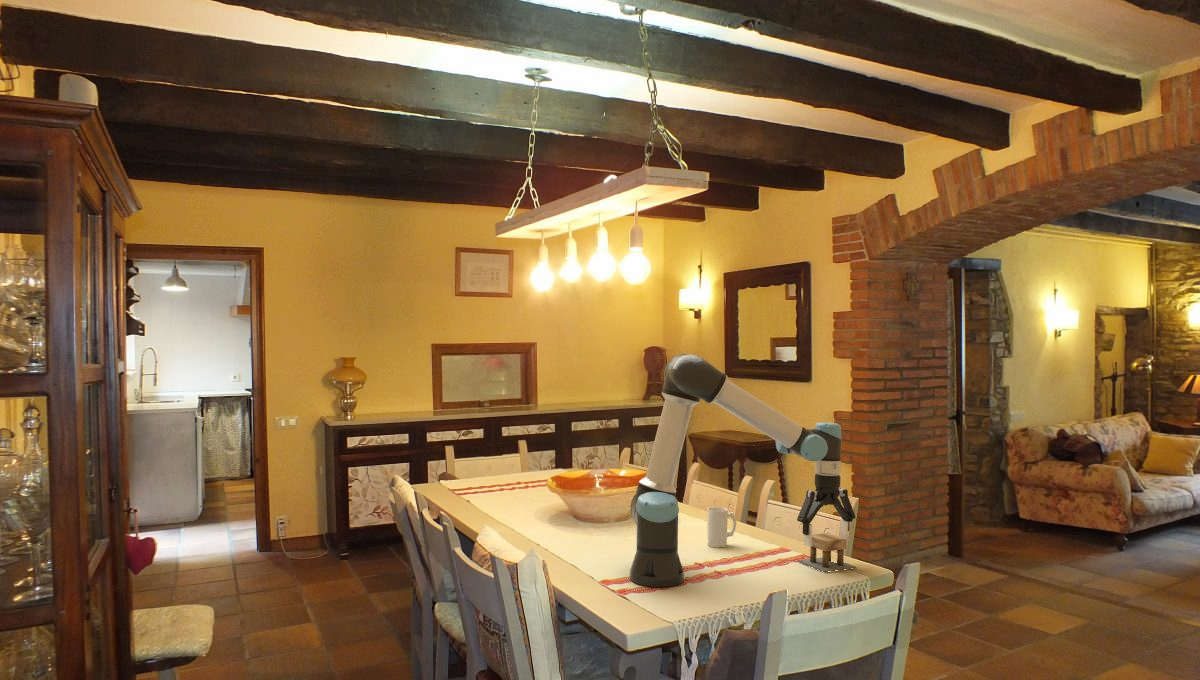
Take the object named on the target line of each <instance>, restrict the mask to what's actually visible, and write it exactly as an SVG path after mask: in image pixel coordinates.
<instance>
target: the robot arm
mask: <svg viewBox="0 0 1200 680" xmlns="http://www.w3.org/2000/svg"><path fill="white" fill-rule="evenodd" d="M728 377H729V376H728V375H727V374H725V373H724V372H722V371H720V370H719V369H718V368H717V367H715V366H714V365H712V363H710V362H709V361H708V360H706V359H705V358H703V357H702V356H700V355H698V354H689V353H683V354H682V353H681V354H678V355H676V356H674V357H673V358H672V359H670V360H669V362H668V363H667V365H666V367H665V370H664V382H663V387H662V391H661V395H662V397H663V398H664V404H663V407H662V411H661V414H660V419H659V422H658V426H657V429H656V434H655V438H654V441H653V442H654V443H653V446H652V450H651V453H650V458H649V461H648V466H647V470H646V473H645V476H644V477H642V478H641V479H640V480H639V481H638V483H637V487H636V492H635V494H634V495H633V496H632V499H631V502H630V513H631V517H632V519H633V521H634V523H635V525H636V549H635V551H636V552H635V554H634V558H633V559H632V560H633V561H632V564H631V566H630V570H629V579H630V581H631V582H632V583H635V584H637V585H640V586H645V587H651V588H652V587H654V588H667V587H674V586H677V585H680V584H682V583H684V580H685V577H684V576H685V572H684V569H683V566H682V563H681V559H680V556H679V548H678V545H679V542H678V541H679V513H680V508H679V500H678V499H677V498H676V494H677V490H676V487H675V486H674V483H675V482H674V481H675V478H676V474H677V469H678V467H679V462H680V458H681V456H682V455H681V454H682V451H683V447H684V442H685V438H686V435H687V431H688V427H689V424H690V423H689V422H690V419H691V417H692V416H691V415H692V412H693V408H694V407H695V406H698V405H699V404H700V401H701V400H702V401H704V402H706V403H707V404H709V405H711V404H715V405H718V406H719V408H722V409H723V410H725V411H727V412H729V413H730V414H732V415H733V416H735V417H737V418H738V419H740V420H741V421H742V422H745V423H747V424H748V425H749V426H751V427H752V428H755V429H757V431H759V432H761V433H763V434H764V435H766V436H767V437H769V438H770V439H773V440H774V441H775V447H776V450H777V452H778V453H780V454H785V455H789V454H790V455H796V456H798V457H801V458H803V459H804V460H806V461H808V462H814V472H815V474H814V486H815V490H814V491H813V490H810V489H807V490H806V494H805V498H804V502H803V503H802V506H801V508H800V510H799V512H798V515H797V517H796V520H797V522H800V523H801V524H802V535H803V545H804V546H807V547H809V548H810V547H812V535H813V524H811V523H812V522H813V520H814V518H816V515H817V514H818V512H819V511H820V510H821V508H822V507H824V506H828V505H829V506H833V508H835V510H836V511H837V513H838V515H839V516H840V517H841V519H840V520H839V521H840V523H839V537H842V538H845V539H847V540H846V544H848V543H849V542H848V540H849V532H850V525H851V524H850V523H852V522H853V520H854V519H856V514H855V512H854V508H853V507H852V503H851V501H850V498H849V493H848V489H846V488H842V487H841V475H840V474H841V473H842V472H841V471H842V469H841V466H842V459H841V458H842V456H841V455H842V440H843V438H842V437H843V435H842V427H841V425H840V424H839V423H836V422H825V421H823V422H817V423H815V427H814V428H811V429H810V428H809V429H807V428H806V427H804V426H802V425H801V424H799V423H798V422H796V421H795V420H793V419H791V418H790V417H788V416H787V415H785V414H783V413H781V412H780V411H778V410H777V409H775V408H773V407H772V406H770V405H769V404H767V403H765V402H764V401H762V400H761V399H759V398H758V397H755V396H754V395H752V394H751V393H749V392H748V391H746V390H744V389H743V388H741V387H740V386H738V385H737V384H735V383H733V382H732V381H730V380H729V378H728Z"/></svg>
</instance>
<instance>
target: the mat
mask: <svg viewBox="0 0 1200 680" xmlns="http://www.w3.org/2000/svg"><path fill="white" fill-rule="evenodd" d="M797 561H798V562H797V563H799V562H800V563H799V564H801V563H803V564H802V565H804V564H805V565H804V566H806V565H807V566H806V567H809V566H810V567H809V568H811V567H813V568H815V569H814V570H816V569H818V570H820V571H819V572H821V571H823V572H828V571H835V570H843V571H845V570H844V569H851V568H856V569H857V566H856V565H852V564H850V563H847V562H845V563H844V565H843V566H839V565H837V563H834V562H831V561H829V567H828V568H824V567H822V557H816V563H812V562H810V558H807V559H798V560H797ZM813 568H812V569H813ZM818 570H817V571H818ZM851 570H852V569H851ZM823 572H822V573H823ZM835 572H836V571H835ZM828 573H829V572H828Z"/></svg>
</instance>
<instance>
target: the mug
mask: <svg viewBox="0 0 1200 680" xmlns="http://www.w3.org/2000/svg"><path fill="white" fill-rule="evenodd" d="M706 509H707V511H706V512H707V515H706V516H707V517H706V519H707V520H706V521H707V545H708V546H709V547H711V548H717V549H720V548H721V547H722V548H726V547H727V546H728V545H727V544H728V543H727V542H728V541H727V540H728V538H729V537H734V533H735V531H736V528H737V519H736V517H735V513H734V511H731V512H728V511H729V510H728V508H725V507H718V506H712V507H707V508H706ZM729 518H731V520H732V527H731V530H730V531H728V520H729Z"/></svg>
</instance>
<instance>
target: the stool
mask: <svg viewBox="0 0 1200 680" xmlns="http://www.w3.org/2000/svg"><path fill="white" fill-rule="evenodd" d="M846 540H847V539H845V538H842V537H840V535H836V534H832V533H830V532H825V533H814V534H812V547H809V551H810V552H809V553H810V554H809V556H810V558H809V559H810V562H812V563H816V558H817V549H818V550H820V551H822V554H821V555H822V557H821V558H822V567H824V568H828V567H829V561H831V557H832V551H836V552H837V555H836V556H837V557H836V559H837V565H839V566H843V565H844V562H845V561H844V558H845V555H844V553H845V551H844V550H847V543H846Z"/></svg>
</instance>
